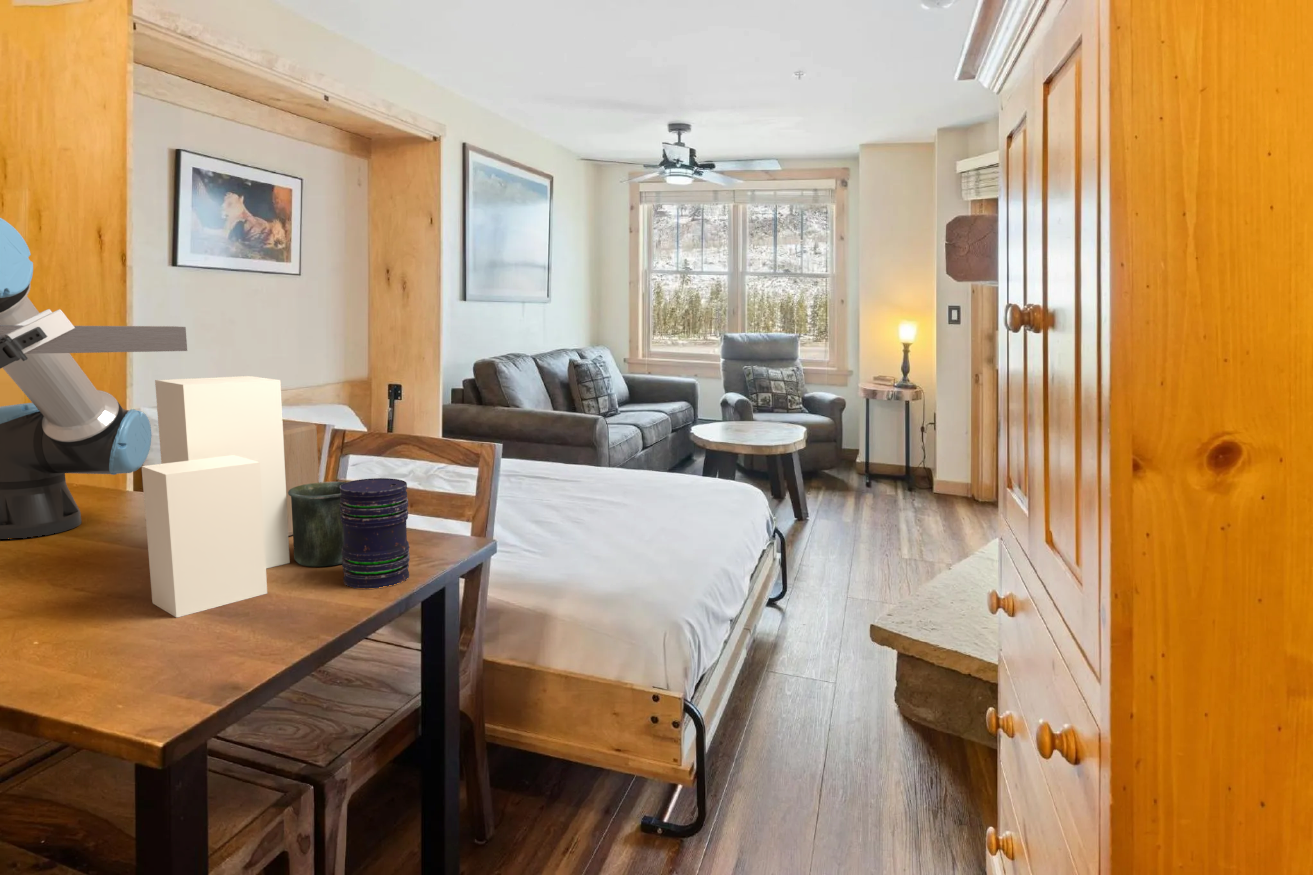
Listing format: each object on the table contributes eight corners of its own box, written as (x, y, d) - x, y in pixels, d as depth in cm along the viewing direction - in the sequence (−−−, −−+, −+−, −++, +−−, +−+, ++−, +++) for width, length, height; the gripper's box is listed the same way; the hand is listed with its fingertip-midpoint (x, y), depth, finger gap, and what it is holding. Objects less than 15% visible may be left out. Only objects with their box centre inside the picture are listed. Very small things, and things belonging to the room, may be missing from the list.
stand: (169, 570, 119) (155, 380, 114) (260, 550, 130) (250, 376, 125) (197, 585, 113) (183, 384, 108) (289, 562, 124) (280, 380, 120)
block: (288, 538, 137) (282, 429, 134) (240, 534, 139) (233, 426, 136) (323, 524, 147) (318, 422, 144) (277, 520, 149) (272, 419, 146)
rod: (-15, 353, 96) (-18, 325, 95) (177, 350, 113) (175, 326, 113) (-7, 354, 94) (-10, 325, 93) (187, 351, 111) (185, 326, 111)
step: (152, 603, 106) (141, 466, 103) (241, 581, 115) (233, 455, 112) (176, 617, 101) (165, 474, 98) (267, 593, 110) (259, 462, 107)
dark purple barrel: (335, 590, 112) (331, 492, 110) (350, 569, 122) (346, 478, 120) (405, 588, 114) (402, 491, 112) (414, 567, 124) (412, 477, 121)
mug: (276, 561, 125) (272, 490, 123) (349, 540, 137) (346, 475, 136) (321, 573, 120) (318, 499, 118) (392, 549, 132) (390, 482, 131)
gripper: (-134, 438, 92) (59, 340, 107) (-105, 455, 83) (103, 345, 97) (-188, 387, 88) (21, 292, 103) (-164, 398, 79) (63, 292, 93)
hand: (60, 318), depth 100 cm, fingers closed on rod, 3 cm apart
